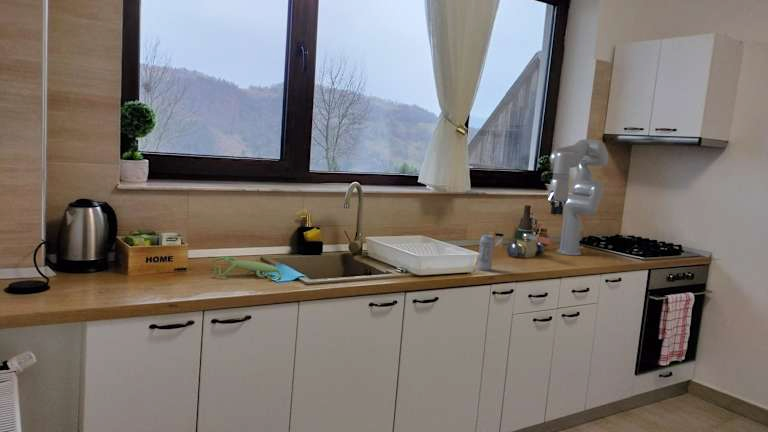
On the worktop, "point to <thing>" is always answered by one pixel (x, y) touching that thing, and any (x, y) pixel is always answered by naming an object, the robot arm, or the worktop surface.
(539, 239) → the lever
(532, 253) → the valve
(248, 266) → the figurine
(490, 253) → the energy drink can
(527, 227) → the beer bottle
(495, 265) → the worktop surface
